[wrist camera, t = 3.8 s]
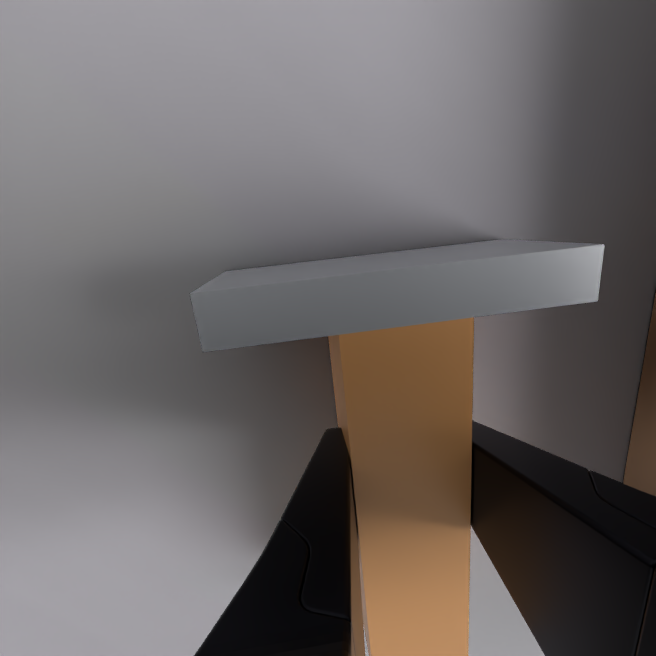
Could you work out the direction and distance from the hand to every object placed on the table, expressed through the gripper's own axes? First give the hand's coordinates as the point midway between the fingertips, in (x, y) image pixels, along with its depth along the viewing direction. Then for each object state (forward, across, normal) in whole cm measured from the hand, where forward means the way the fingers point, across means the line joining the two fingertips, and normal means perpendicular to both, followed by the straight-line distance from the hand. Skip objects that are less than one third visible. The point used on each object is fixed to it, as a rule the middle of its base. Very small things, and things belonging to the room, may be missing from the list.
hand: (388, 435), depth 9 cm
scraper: (+1, 0, 0) cm, 1 cm away
